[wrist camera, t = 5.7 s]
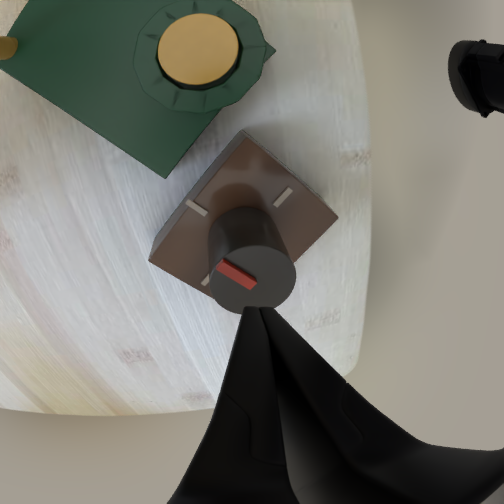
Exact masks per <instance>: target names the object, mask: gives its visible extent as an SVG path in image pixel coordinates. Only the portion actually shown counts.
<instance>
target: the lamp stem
mask: <svg viewBox="0 0 504 504" xmlns="http://www.w3.org/2000/svg"><path fill="white" fill-rule="evenodd" d="M17 47H18V41H17V39H16V38H15V37H7V36H0V60H7V59H10V58H11V57H12V56H13V55H14V54H15V52H16V50H17Z"/></svg>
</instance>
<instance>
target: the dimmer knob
mask: <svg viewBox="0 0 504 504" xmlns="http://www.w3.org/2000/svg"><path fill="white" fill-rule="evenodd" d="M208 258H209V286H210V291H211V294H212V296H213V298H214V299H215V301H216V302H217V303H218V304H219V305H220V306H222V307H223V308H225V309H226V310H228V311H230V312H233V313H237V314H242V312H243V308H244V307H245V306H256V307H258V308H259V307H272V308H276V307H277V306H279V305H280V304H282V303H283V302H284V301H285V300H286V299H287V298H288V297H289V295H290V294H291V292H292V290H293V288H294V286H295V282H296V270H295V266H294V264H293V262H292V259H291V257H290V255H289V253H288V251H287V248H286V246H285V244H284V242H283V240H282V237H281V235H280V233H279V231H278V229H277V226H276V224H275V223H274V221H273V220H272V218H271V217H270V216H269V215H267V214H266V213H264V212H263V211H261V210H258V209H255V208H249V207H241V208H235V209H232V210H230V211H227V212H226V213H224V214H222V215H221V216H220V217H219V218H218V219H217V220H216V221H215V222H214V223H213V225H212V227H211V229H210V232H209V236H208Z"/></svg>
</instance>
